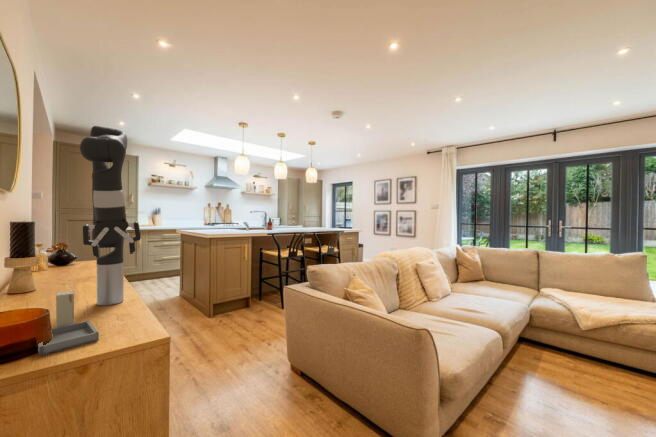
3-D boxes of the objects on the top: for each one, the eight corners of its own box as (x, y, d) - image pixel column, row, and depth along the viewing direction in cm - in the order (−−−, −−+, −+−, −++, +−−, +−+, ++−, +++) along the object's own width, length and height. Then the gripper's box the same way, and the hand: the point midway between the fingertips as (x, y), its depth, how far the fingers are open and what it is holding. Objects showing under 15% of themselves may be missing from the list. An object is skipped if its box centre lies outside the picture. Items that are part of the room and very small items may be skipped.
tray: (35, 340, 85) (35, 332, 85) (88, 327, 95) (88, 320, 95) (39, 356, 76) (39, 347, 76) (98, 340, 85) (98, 332, 85)
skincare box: (74, 329, 93) (74, 293, 93) (56, 333, 90) (56, 296, 90) (73, 324, 97) (73, 289, 97) (56, 327, 94) (56, 292, 94)
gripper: (138, 202, 93) (142, 249, 95) (82, 204, 85) (88, 254, 88) (137, 205, 86) (141, 255, 89) (76, 207, 79) (83, 261, 82)
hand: (115, 255), depth 89 cm, fingers open, 8 cm apart
